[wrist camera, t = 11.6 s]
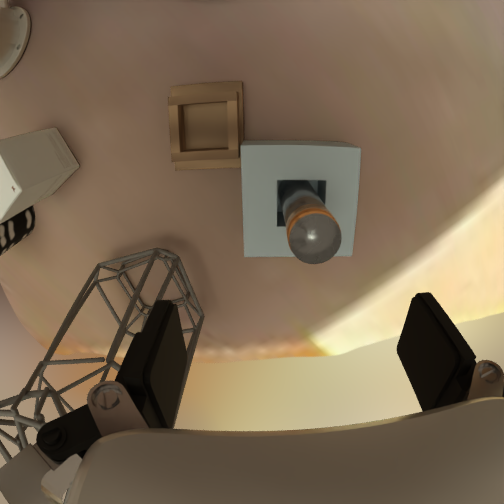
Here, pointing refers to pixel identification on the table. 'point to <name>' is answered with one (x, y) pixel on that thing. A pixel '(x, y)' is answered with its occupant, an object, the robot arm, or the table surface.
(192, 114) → the mount
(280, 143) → the socket
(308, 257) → the pin
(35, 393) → the geometric lantern
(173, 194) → the table surface
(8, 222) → the spotted tube
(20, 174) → the supplement box
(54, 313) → the table surface
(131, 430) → the robot arm
